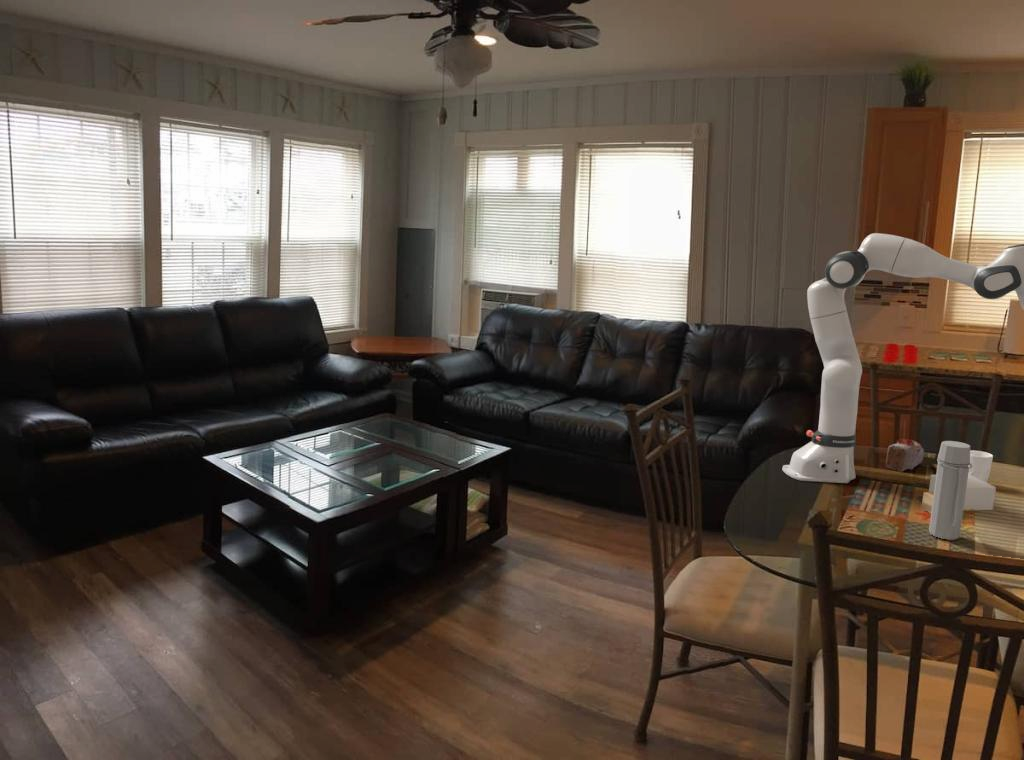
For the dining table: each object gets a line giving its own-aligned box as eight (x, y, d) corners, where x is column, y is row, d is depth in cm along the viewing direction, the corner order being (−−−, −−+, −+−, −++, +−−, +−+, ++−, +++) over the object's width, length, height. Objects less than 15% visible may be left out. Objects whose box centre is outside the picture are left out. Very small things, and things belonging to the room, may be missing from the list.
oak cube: (931, 515, 223) (933, 498, 222) (921, 508, 228) (923, 492, 227) (948, 514, 224) (950, 498, 223) (938, 508, 228) (940, 492, 227)
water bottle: (922, 530, 211) (934, 439, 207) (953, 531, 211) (965, 441, 206) (937, 543, 202) (949, 449, 198) (969, 545, 202) (982, 450, 197)
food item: (899, 460, 275) (903, 433, 273) (923, 466, 270) (927, 438, 268) (882, 468, 266) (886, 439, 265) (906, 473, 261) (910, 445, 259)
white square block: (953, 511, 227) (956, 487, 226) (928, 496, 239) (931, 474, 238) (992, 510, 228) (996, 487, 227) (965, 496, 240) (968, 474, 239)
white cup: (992, 489, 247) (997, 458, 245) (965, 486, 248) (969, 456, 246) (983, 481, 254) (987, 451, 252) (956, 479, 256) (960, 449, 254)
